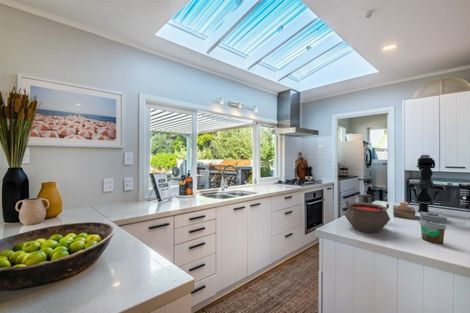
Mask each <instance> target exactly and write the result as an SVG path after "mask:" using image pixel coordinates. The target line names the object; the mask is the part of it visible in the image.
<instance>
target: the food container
mask: <svg viewBox="0 0 470 313" xmlns="http://www.w3.org/2000/svg"><path fill="white" fill-rule="evenodd" d="M418 224H420V230H421V231H420V232H421V234H420V235H421V240H423V241H425V242H427V243H431V244H436V245H437V244H438V245H444V239H445V238H444V237H445V231H446V230H447V226H446V224H440V223H437V222H430V221H426V220H425V218H420V219H419V222H418Z"/></svg>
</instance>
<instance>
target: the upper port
mask: <svg viewBox="0 0 470 313" xmlns="http://www.w3.org/2000/svg"><path fill="white" fill-rule="evenodd" d="M392 206H393V207H392V215H393V218H399V219H406V218H407V219H408V220H414V221H416V210H415V208H414V207H413V206H408V209H402V208H400V205H394V204H392Z"/></svg>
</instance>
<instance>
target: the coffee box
mask: <svg viewBox="0 0 470 313" xmlns="http://www.w3.org/2000/svg"><path fill="white" fill-rule="evenodd" d="M354 198H355V199H354V202H364V203H371V204H373V195H370V194H367V193H365V194H361V193H357V194H355V195H354Z"/></svg>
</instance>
